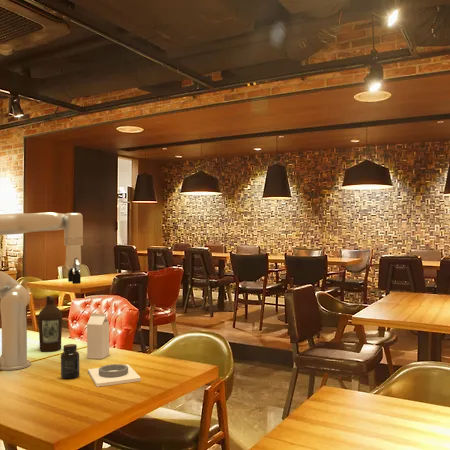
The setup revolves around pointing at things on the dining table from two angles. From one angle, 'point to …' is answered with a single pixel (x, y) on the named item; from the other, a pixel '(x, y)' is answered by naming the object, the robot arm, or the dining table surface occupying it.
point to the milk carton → (97, 336)
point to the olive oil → (50, 327)
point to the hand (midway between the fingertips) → (74, 282)
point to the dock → (113, 375)
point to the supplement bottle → (70, 362)
